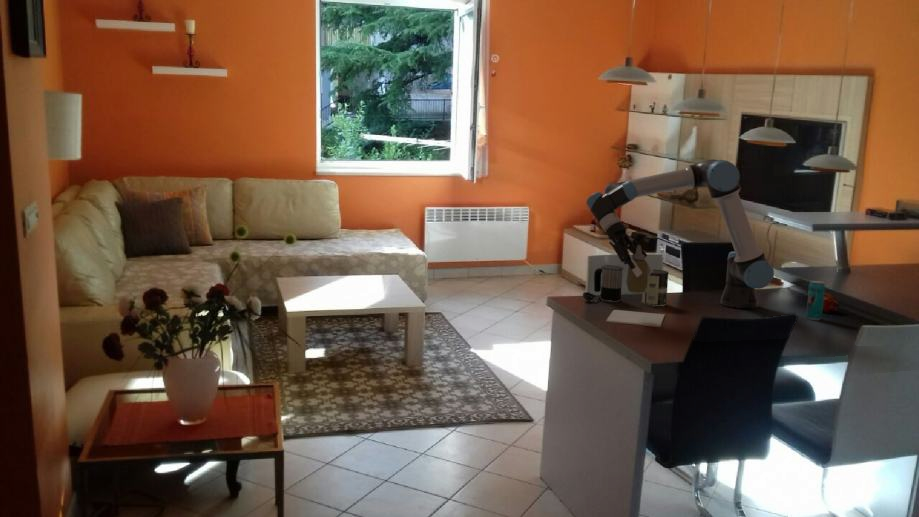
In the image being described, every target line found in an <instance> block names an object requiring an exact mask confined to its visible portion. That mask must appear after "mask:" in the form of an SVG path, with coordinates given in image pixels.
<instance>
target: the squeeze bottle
mask: <svg viewBox="0 0 919 517" xmlns="http://www.w3.org/2000/svg"><path fill="white" fill-rule="evenodd" d="M641 248H642V246H641V245H640V244H639V245H638V246H637V249H636V253H635V254H633V253H632V256H631V260H632V259H633V260H634V261H635V263H636V264H637V266H638V267H639V268H640V270H641V271H642V274H641V275H640V276H639V277H636V275H635V274H634V272H633V271H632V269H631V268H630V267H629V266H628V270H627V275H626V281H625V282H626V286H627V289H628V292H631V293H634V294H635V293H636V294H641V293H642V294H643V292H644V291H645V288H646V286H647V283H648V280H647V262H648V261H647V260H646V261H647V262H646V261H645V260H644V259H646V257H645V255H642V251H641Z"/></svg>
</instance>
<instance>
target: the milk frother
mask: <svg viewBox="0 0 919 517" xmlns="http://www.w3.org/2000/svg"><path fill="white" fill-rule="evenodd" d="M623 272H624V267H623V266H622V265H621V266H620V265H612V264H605V265H602V266H601V267H599V268H596V269H595V271H594V274H593V275H594V276H593V277H594V278H593V283H594V284H593V286H594V289H593V290H594V292H595V293H600V294H599V297H600V296H601V298H602V299H604V300H612V301H618V300H621V301H622V286H623V285H622V284H623ZM596 296H597V295H595V294H593V293H590V292H587V291H586V292H583V293H582V297H583V298H584V299H585V300H586V301H588V300H595V298H594V297H596Z"/></svg>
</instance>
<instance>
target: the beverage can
mask: <svg viewBox="0 0 919 517" xmlns="http://www.w3.org/2000/svg"><path fill="white" fill-rule="evenodd" d="M825 288H826V286H825V281H823V280H809V284H808V292H807V293H808V294H807V301H806V302H807V304H806V317H807V319H808V320H811V321H820V320H821V319H822V317H823V312H824V311H823V302H824V292H825V290H826V289H825Z"/></svg>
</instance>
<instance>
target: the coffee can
mask: <svg viewBox="0 0 919 517" xmlns="http://www.w3.org/2000/svg"><path fill="white" fill-rule="evenodd" d="M669 273H670V272H669V271H667V270H664V269H653V272H652V273H651V274H650V275H647V280H648V283H647V286H646V288H645V291H644V292H642V298H641V304H642V303H644V304H648V305H653V306H652V307H654V306H662V307H666V306H667V304H668V303H667V300H668V299H667V297H668V280H669ZM665 305H666V306H665Z"/></svg>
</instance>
